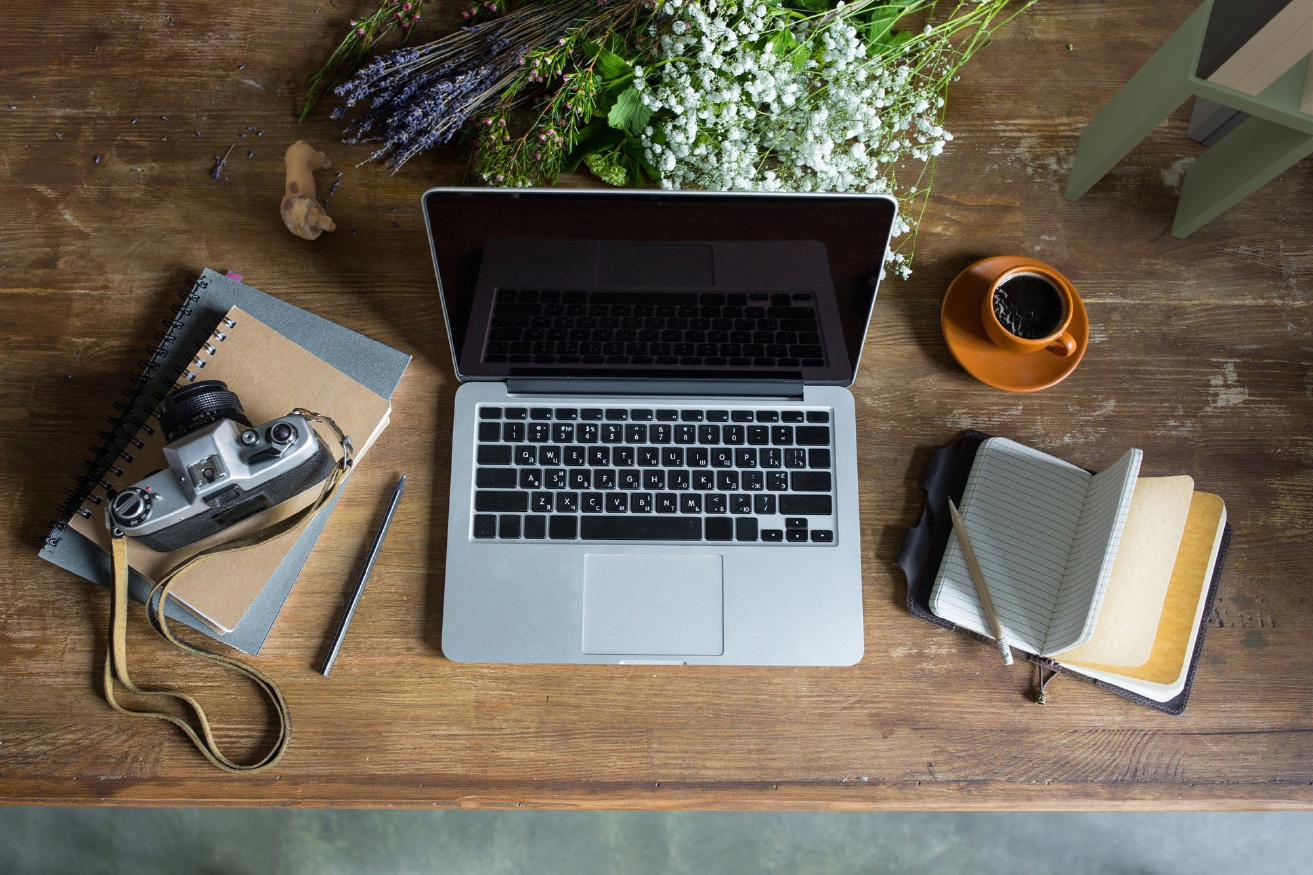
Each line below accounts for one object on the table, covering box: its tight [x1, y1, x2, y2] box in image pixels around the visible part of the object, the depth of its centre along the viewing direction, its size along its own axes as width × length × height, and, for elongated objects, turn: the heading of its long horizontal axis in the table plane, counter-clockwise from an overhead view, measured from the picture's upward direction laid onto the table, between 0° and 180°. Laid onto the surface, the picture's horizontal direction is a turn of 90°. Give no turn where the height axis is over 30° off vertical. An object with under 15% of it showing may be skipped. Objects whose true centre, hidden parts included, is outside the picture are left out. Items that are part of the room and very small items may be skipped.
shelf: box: [1062, 0, 1313, 241], centre depth 86 cm, size 15×10×22 cm, turn 70°
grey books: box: [1185, 95, 1252, 149], centre depth 93 cm, size 4×9×12 cm, turn 160°
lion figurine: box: [279, 139, 337, 241], centre depth 88 cm, size 15×5×9 cm, turn 16°
